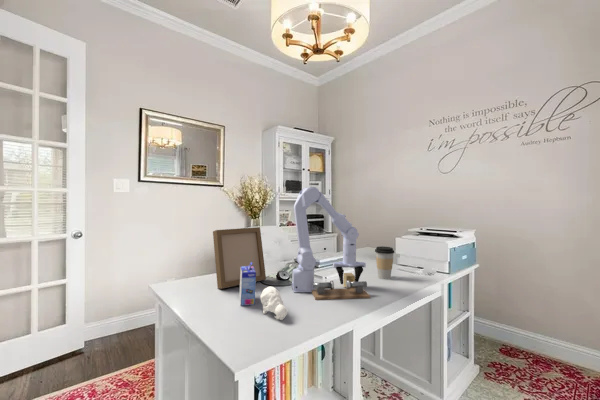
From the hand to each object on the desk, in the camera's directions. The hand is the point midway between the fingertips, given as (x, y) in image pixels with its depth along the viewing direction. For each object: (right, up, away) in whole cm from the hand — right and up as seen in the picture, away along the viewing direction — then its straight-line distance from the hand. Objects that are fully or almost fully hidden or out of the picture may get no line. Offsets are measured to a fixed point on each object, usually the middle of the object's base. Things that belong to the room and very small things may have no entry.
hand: (349, 283), depth 123 cm
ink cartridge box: (-42, -1, -19) cm, 46 cm away
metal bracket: (-28, -2, +14) cm, 31 cm away
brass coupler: (0, -2, 0) cm, 2 cm away
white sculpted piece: (-30, -2, -31) cm, 43 cm away
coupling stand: (-6, -1, -11) cm, 12 cm away
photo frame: (-51, -1, +5) cm, 51 cm away
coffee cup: (+20, -2, +15) cm, 25 cm away
